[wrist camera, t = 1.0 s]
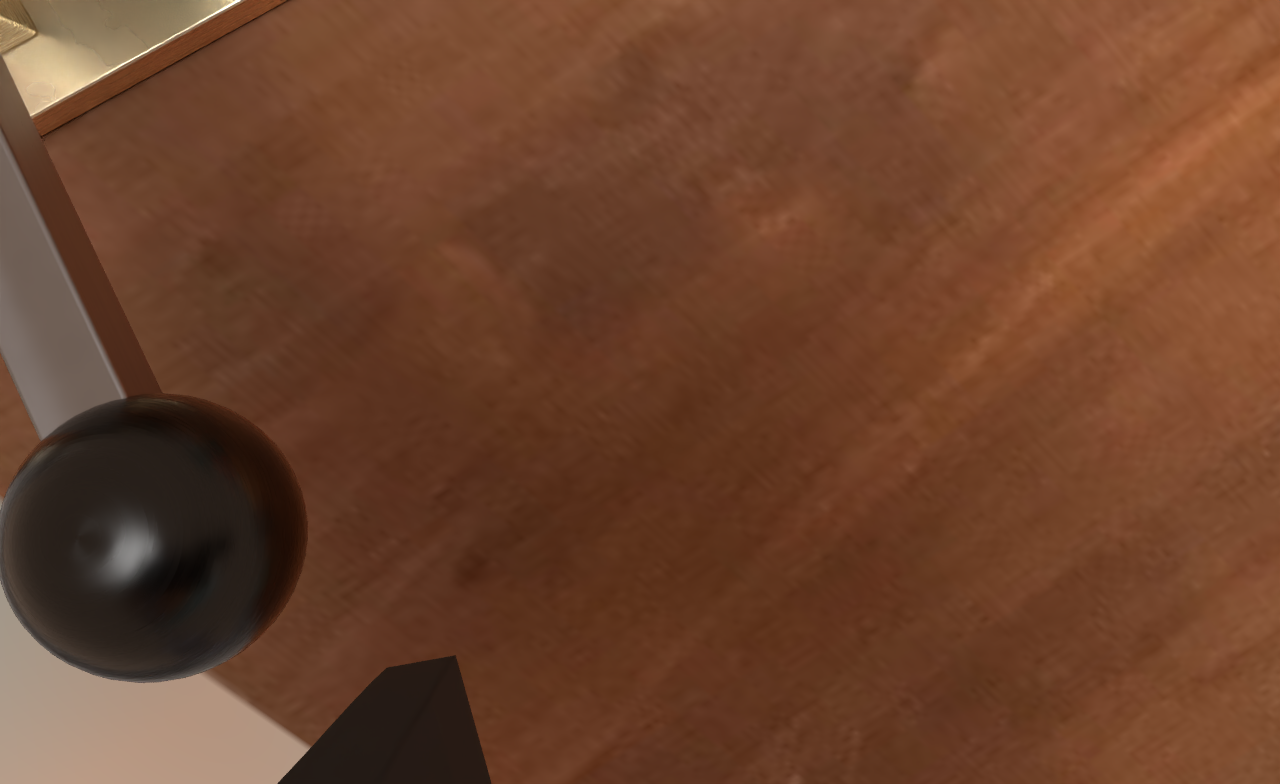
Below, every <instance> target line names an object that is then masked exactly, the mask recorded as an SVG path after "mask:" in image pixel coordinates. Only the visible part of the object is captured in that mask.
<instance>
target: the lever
mask: <svg viewBox="0 0 1280 784" xmlns="http://www.w3.org/2000/svg"><path fill="white" fill-rule="evenodd" d="M0 353H1V355H2V357H3V360H4V362H5V364H6V366H7V368H8V371H9V373H10V375H11V377H12V379H13V382H14V384H15V386H16V388H17V390H18V393H19V395H20V397H21V399H22V401H23V403H24V406H25V408H26V410H27V412H28V414H29V417H30V419H31V421H32V423H33V425H34V428H35V430H36V432H37V434H38V436H39V439H40V441H41V442H40V443H39V444H38V445H37V446H36V447H35V448H34V449H33V450H32V452H31V453H30V454H29V455H28V456H27V458H26V459H25V460H24V462H23V463H22V464H21V466H20V467H19V469H18V470H17V472H16V474H15V476H14V477H13V479H12V481H11V483H10V485H9V487H8V490H7V492H6V495H5V497H4V500H3V503H2V507H1V510H0V581H1V584H2V587H3V590H4V593H5V595H6V598H7V600H8V602H9V604H10V606H11V608H12V610H13V612H14V613H15V615H16V617H17V618H18V619H19V621H20V622H21V624H22V625H23V626H24V628H25V629H26V630H27V631H28V632H29V633H30V634H31V635H32V636H33V637H34V639H36V641H37V642H38V643H39V644H40V645H42V646H43V647H44V648H46V649H47V650H48V651H49V652H50V653H52V654H53V655H54V656H56V657H57V658H59V659H61V660H62V661H64V662H66V663H68V664H69V665H71V666H74V667H76V668H78V669H81V670H83V671H85V672H88V673H90V674H93V675H96V676H100V677H103V678H107V679H111V680H119V681H129V682H138V683H145V682H162V681H168V680H174V679H180V678H186V677H189V676H192V675H195V674H199V673H202V672H204V671H207V670H209V669H211V668H213V667H215V666H218V665H220V664H222V663H224V662H226V661H228V660H230V659H231V658H233V657H234V656H236V655H238V654H239V653H241V652H242V651H244V650H245V649H246V648H247V647H248V646H250V645H251V644H252V643H253V642H255V641H256V640H257V639H258V638H259V637H260V636H262V635H263V634H264V632H265V631H266V630H267V629H268V628H269V627H270V626H271V625H272V624H273V623H274V622H275V620H276V619H277V618H278V616H279V615H280V613H281V612H282V611H283V609H284V608H285V606H286V605H287V603H288V601H289V599H290V597H291V595H292V594H293V592H294V589H295V587H296V584H297V582H298V579H299V577H300V574H301V572H302V568H303V564H304V560H305V556H306V548H307V540H308V521H307V513H306V506H305V502H304V498H303V494H302V491H301V488H300V485H299V483H298V481H297V478H296V476H295V473H294V471H293V469H292V468H291V466H290V464H289V462H288V461H287V459H286V457H285V456H284V454H283V453H282V452H281V451H280V449H279V448H278V447H277V445H276V444H275V443H274V442H273V441H272V440H271V439H270V438H269V437H268V436H267V435H266V434H265V433H264V432H263V431H262V430H260V429H259V428H258V427H257V426H255V425H254V424H253V423H251V422H250V421H249V420H247V419H246V418H245V417H243V416H241V415H239V414H237V413H236V412H234V411H232V410H230V409H228V408H225V407H223V406H220V405H218V404H215V403H212V402H210V401H207V400H204V399H200V398H196V397H191V396H185V395H174V394H163V393H162V391H161V389H160V387H159V385H158V383H157V381H156V379H155V376H154V374H153V372H152V370H151V368H150V366H149V364H148V362H147V360H146V358H145V355H144V353H143V351H142V349H141V347H140V345H139V343H138V341H137V339H136V337H135V334H134V332H133V330H132V328H131V326H130V324H129V322H128V320H127V318H126V316H125V313H124V311H123V309H122V307H121V305H120V303H119V301H118V299H117V297H116V295H115V292H114V290H113V288H112V286H111V284H110V282H109V280H108V278H107V276H106V274H105V271H104V269H103V267H102V265H101V263H100V261H99V259H98V257H97V255H96V253H95V250H94V248H93V246H92V244H91V242H90V240H89V238H88V236H87V234H86V232H85V229H84V227H83V225H82V223H81V221H80V219H79V217H78V215H77V213H76V211H75V208H74V206H73V204H72V202H71V200H70V198H69V196H68V194H67V192H66V190H65V187H64V185H63V183H62V181H61V179H60V177H59V175H58V173H57V171H56V169H55V166H54V164H53V162H52V160H51V158H50V156H49V154H48V152H47V150H46V148H45V145H44V143H43V141H42V139H41V137H40V135H39V133H38V131H37V129H36V127H35V124H34V122H33V120H32V118H31V116H30V114H29V112H28V110H27V108H26V106H25V103H24V101H23V99H22V97H21V95H20V93H19V91H18V89H17V87H16V85H15V82H14V80H13V78H12V76H11V74H10V72H9V70H8V68H7V66H6V64H5V61H4V59H3V57H2V55H1V53H0Z"/></svg>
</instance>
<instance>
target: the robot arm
mask: <svg viewBox="0 0 1280 784" xmlns="http://www.w3.org/2000/svg"><path fill="white" fill-rule="evenodd" d="M278 784H491V780H490V777H489V773H488V770H487V766H486V762H485V759H484V755H483V752H482V748H481V745H480V741H479V737H478V734H477V730H476V727H475V723H474V720H473V716H472V712H471V709H470V705H469V702H468V698H467V695H466V691H465V687H464V684H463V680H462V677H461V673H460V670H459V666H458V662H457V659H456V655H455V656H449V657H444V658H438V659H433V660H427V661H422V662H416V663H411V664H405V665H400V666H394V667H389V668H386V669H385V670H384V671H383V672H382V673H381V674H380V675H379V676H378V677H377V678H375V679H374V680H373V681H372V682H371V683H370V684H369V685H368V686H367V687H366V689H365V690H364V691H363V692H362V693H361V694H360V695H359V696H358V697H357V698H356V699H355V700H354V701H353V702H352V703H351V704H350V706H349V707H348V708H347V709H346V710H345V711H344V712H343V713H342V714H341V715H340V716H339V718H338V719H337V720H336V721H335V722H334V723H333V724H332V725H331V726H330V727H329V728H328V730H327V731H326V732H325V733H324V734H323V735H322V736H321V737H320V738H319V739H318V741H317V742H316V743H315V744H314V745H313V746H312V747H311V748H310V749H309V750H308V751H307V753H306V754H305V755H304V756H303V757H302V758H301V759H300V760H299V761H298V762H297V763H296V764H295V765H294V767H293V768H292V769H291V770H290V771H289V772H288V773H287V774H286V775H285V776H284V777H283V778H282V779H281V780H280V782H279V783H278Z"/></svg>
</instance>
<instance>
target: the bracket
mask: <svg viewBox="0 0 1280 784" xmlns="http://www.w3.org/2000/svg"><path fill="white" fill-rule="evenodd" d="M285 1H287V0H0V53H1V55H2V57H3V59H4V61H5V64H6V66H7V68H8V70H9V72H10V74H11V76H12V78H13V80H14V82H15V85H16V87H17V89H18V91H19V93H20V95H21V97H22V99H23V101H24V103H25V106H26V108H27V110H28V112H29V114H30V116H31V118H32V120H33V122H34V124H35V127H36V129H37V131H38V133H39V135H40V137H41V136H43V135H45V134H46V133H48V132H50V131H52V130H54V129H55V128H57V127H59V126H61V125H63V124H65V123H66V122H68V121H70V120H72V119H74V118H75V117H77V116H79V115H81V114H83V113H84V112H86V111H88V110H90V109H92V108H93V107H95V106H97V105H99V104H101V103H102V102H104V101H106V100H108V99H110V98H111V97H113V96H115V95H117V94H119V93H121V92H122V91H124V90H126V89H128V88H130V87H131V86H133V85H135V84H137V83H139V82H140V81H142V80H144V79H146V78H148V77H149V76H151V75H153V74H155V73H157V72H158V71H160V70H162V69H164V68H166V67H168V66H169V65H171V64H173V63H175V62H177V61H178V60H180V59H182V58H184V57H186V56H187V55H189V54H191V53H193V52H195V51H196V50H198V49H200V48H202V47H204V46H205V45H207V44H209V43H211V42H213V41H214V40H216V39H218V38H220V37H222V36H224V35H225V34H227V33H229V32H231V31H233V30H234V29H236V28H238V27H240V26H242V25H243V24H245V23H247V22H249V21H251V20H252V19H254V18H256V17H258V16H260V15H261V14H263V13H265V12H267V11H269V10H271V9H272V8H274V7H276V6H278V5H280V4H281V3H283V2H285Z"/></svg>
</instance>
